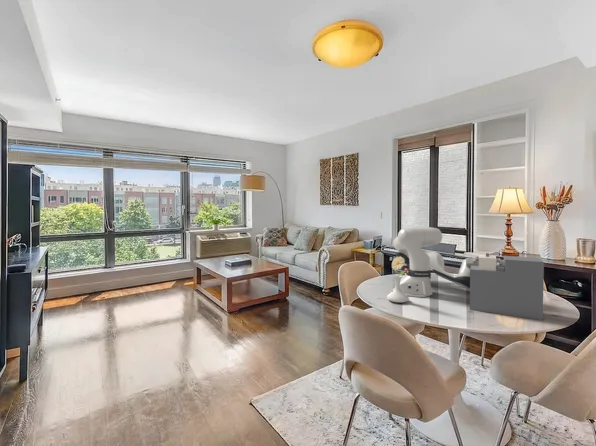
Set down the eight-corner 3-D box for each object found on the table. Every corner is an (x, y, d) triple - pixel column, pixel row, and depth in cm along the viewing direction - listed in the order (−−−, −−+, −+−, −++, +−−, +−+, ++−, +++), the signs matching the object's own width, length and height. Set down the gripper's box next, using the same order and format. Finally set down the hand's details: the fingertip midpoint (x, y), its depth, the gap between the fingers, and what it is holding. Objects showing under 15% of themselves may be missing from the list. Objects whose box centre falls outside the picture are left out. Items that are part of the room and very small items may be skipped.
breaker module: (479, 263, 160) (479, 249, 160) (494, 264, 157) (495, 250, 156) (478, 269, 144) (479, 254, 144) (496, 271, 141) (496, 255, 140)
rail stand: (470, 302, 156) (471, 253, 155) (538, 312, 141) (539, 258, 140) (469, 309, 146) (470, 257, 145) (542, 320, 131) (544, 262, 130)
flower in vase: (383, 298, 166) (383, 254, 165) (402, 297, 167) (403, 253, 166) (393, 305, 153) (393, 258, 152) (414, 304, 154) (414, 257, 153)
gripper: (510, 275, 159) (511, 266, 149) (466, 271, 170) (465, 262, 160) (509, 264, 161) (511, 254, 151) (466, 260, 172) (465, 251, 162)
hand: (487, 258), depth 155 cm, fingers open, 8 cm apart
